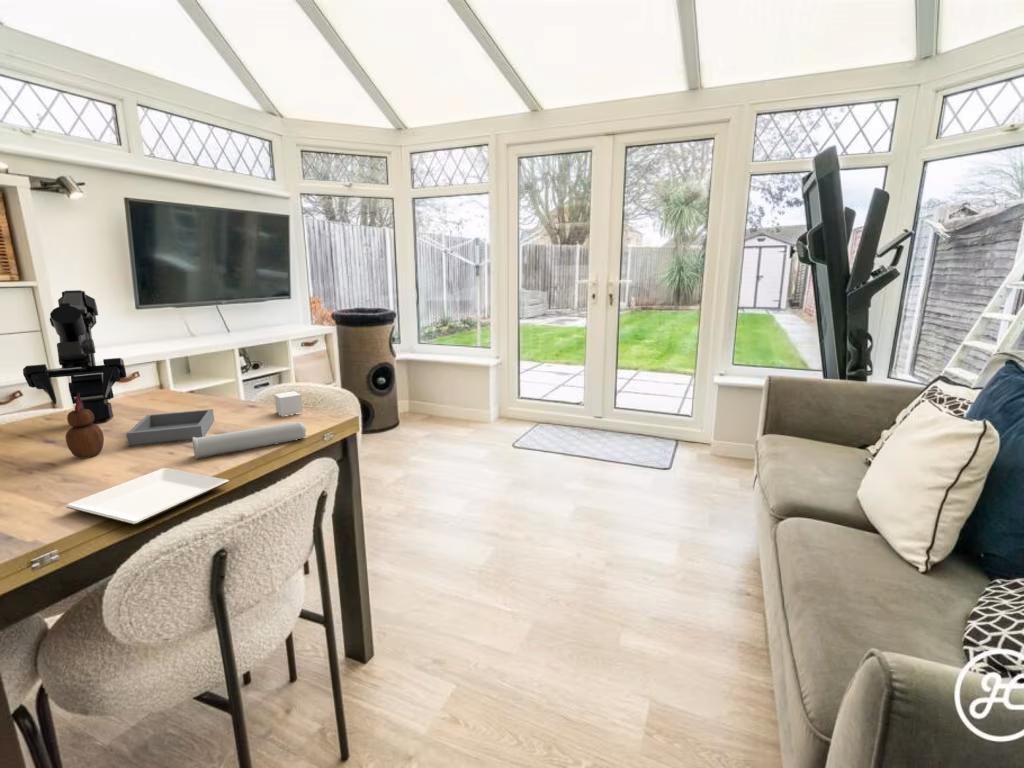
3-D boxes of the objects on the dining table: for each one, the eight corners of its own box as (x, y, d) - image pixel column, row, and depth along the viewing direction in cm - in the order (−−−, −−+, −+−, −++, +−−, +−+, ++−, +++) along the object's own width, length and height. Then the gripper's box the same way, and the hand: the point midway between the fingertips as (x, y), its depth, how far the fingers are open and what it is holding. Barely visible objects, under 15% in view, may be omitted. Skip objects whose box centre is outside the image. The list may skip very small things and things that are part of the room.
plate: (136, 533, 85) (134, 522, 84) (66, 515, 91) (63, 504, 90) (231, 488, 102) (229, 479, 101) (166, 475, 108) (164, 466, 108)
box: (128, 446, 124) (126, 433, 124) (149, 426, 140) (147, 414, 139) (202, 439, 130) (200, 426, 129) (214, 420, 145) (212, 409, 145)
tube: (302, 420, 133) (191, 437, 119) (306, 418, 129) (192, 436, 115) (305, 440, 133) (195, 460, 119) (310, 439, 129) (196, 459, 115)
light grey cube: (281, 417, 149) (279, 398, 147) (276, 413, 153) (274, 394, 152) (302, 413, 153) (300, 394, 151) (296, 409, 157) (294, 391, 156)
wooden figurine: (86, 450, 122) (73, 391, 118) (111, 450, 122) (99, 390, 119) (64, 461, 115) (50, 398, 112) (91, 460, 116) (78, 397, 112)
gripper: (15, 331, 116) (17, 387, 109) (117, 326, 126) (123, 376, 120) (28, 360, 124) (31, 413, 117) (123, 352, 134) (130, 401, 128)
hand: (80, 400), depth 121 cm, fingers open, 9 cm apart
